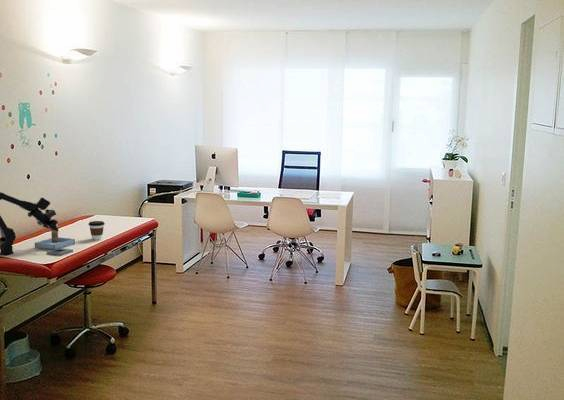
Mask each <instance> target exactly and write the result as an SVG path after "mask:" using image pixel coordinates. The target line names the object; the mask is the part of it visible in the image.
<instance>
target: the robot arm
mask: <svg viewBox="0 0 564 400" xmlns="http://www.w3.org/2000/svg"><path fill="white" fill-rule="evenodd" d="M2 200H3V201H5V202H8V203H10V204H13V205H16V206H18V207H19V208H20V209H22V210H24V211H27V217H28V218H34V219H35V221H37V225H38V226H42V227H44V228H45V229H49V230H51V229H52V230H55V231H58V232H59V227H58V228H57V227H56V224H57V223H58V224H59V220H58V219H54V218H53V219H52V217H54V216H57V213H56V210H55V209H49V208H48V207H49V206H50V205H51V202H50V201H49V200H47V199H46V198H44V197H42V196H41V197H40V199H39V200H38V201H37V202H31V201H26V200H22V199H19V198H16V197H13V196H11V195H9V194H6V193H5V192H1V191H0V201H2ZM43 211H45V212H43ZM50 220H51V221H50ZM57 220H58V221H57ZM0 235H1V237H0V255H3V256H8V255H9V256H10V255H12V254H15V252H14V251H13V244H14V241H16V233H15V231H14V229H13V228H11V227H8V226H7V224H6V223H5V220H4V219H3V217H2V216H1V215H0Z"/></svg>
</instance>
